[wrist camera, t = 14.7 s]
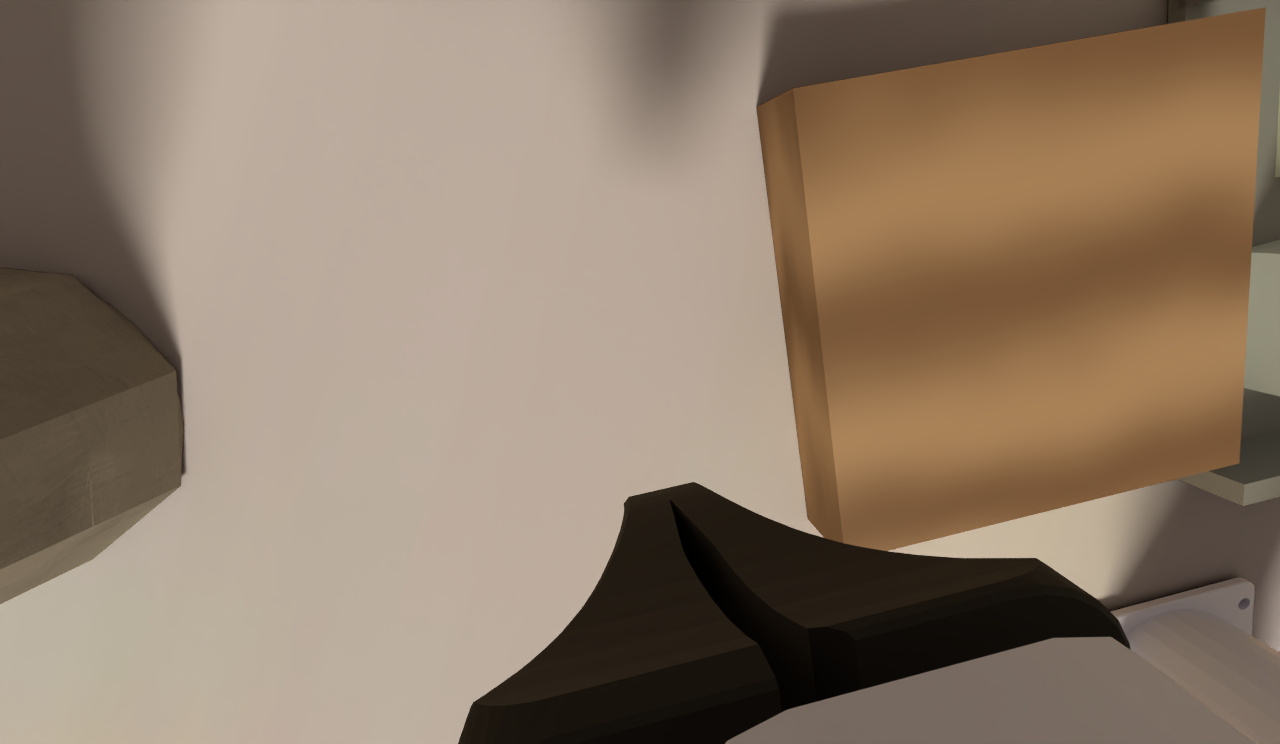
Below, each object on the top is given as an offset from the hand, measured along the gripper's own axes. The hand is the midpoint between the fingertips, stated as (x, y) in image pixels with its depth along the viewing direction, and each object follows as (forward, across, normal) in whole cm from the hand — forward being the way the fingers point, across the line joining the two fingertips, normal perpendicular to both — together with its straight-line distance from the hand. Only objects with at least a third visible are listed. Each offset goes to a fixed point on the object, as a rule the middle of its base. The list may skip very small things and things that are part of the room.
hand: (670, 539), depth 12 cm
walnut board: (+10, -13, -1) cm, 16 cm away
